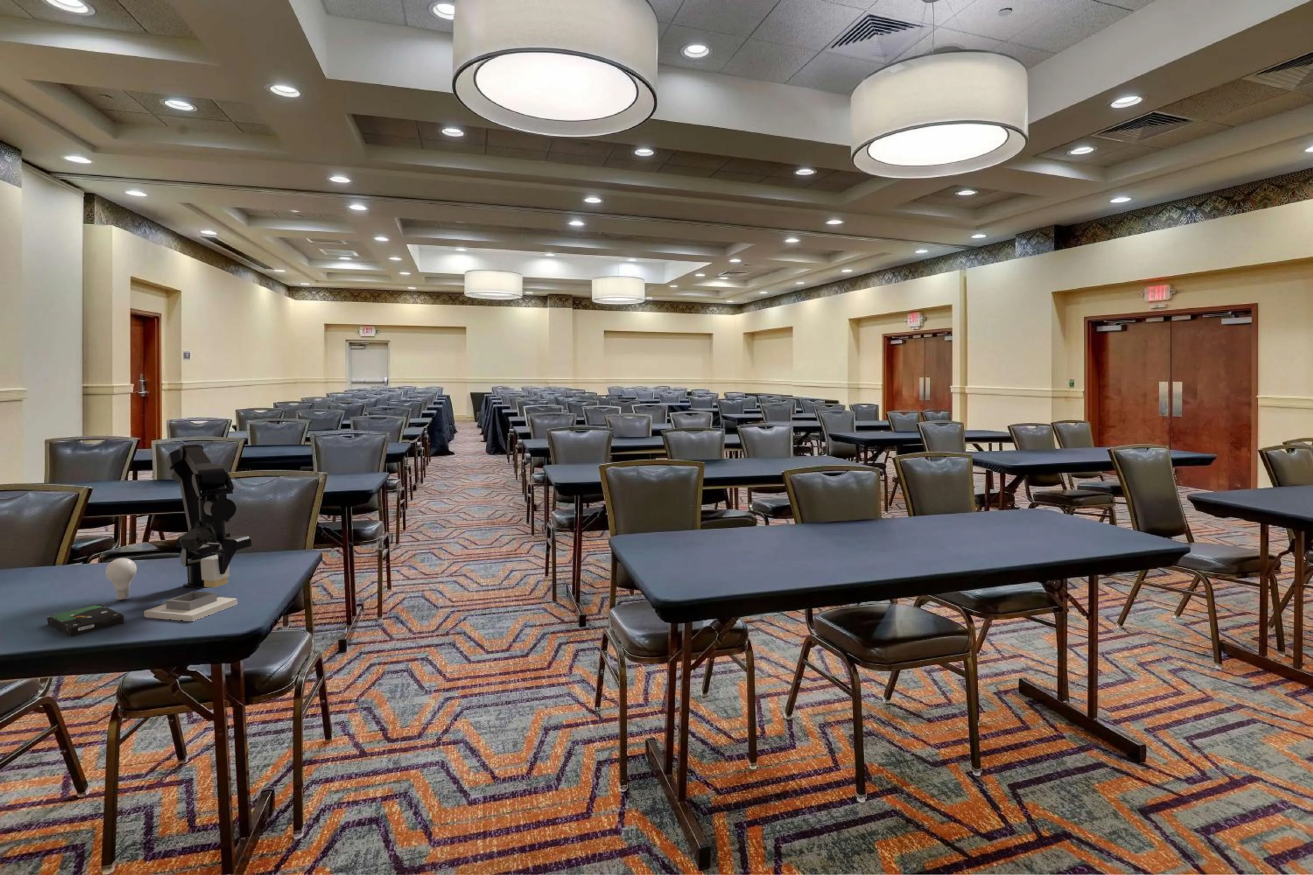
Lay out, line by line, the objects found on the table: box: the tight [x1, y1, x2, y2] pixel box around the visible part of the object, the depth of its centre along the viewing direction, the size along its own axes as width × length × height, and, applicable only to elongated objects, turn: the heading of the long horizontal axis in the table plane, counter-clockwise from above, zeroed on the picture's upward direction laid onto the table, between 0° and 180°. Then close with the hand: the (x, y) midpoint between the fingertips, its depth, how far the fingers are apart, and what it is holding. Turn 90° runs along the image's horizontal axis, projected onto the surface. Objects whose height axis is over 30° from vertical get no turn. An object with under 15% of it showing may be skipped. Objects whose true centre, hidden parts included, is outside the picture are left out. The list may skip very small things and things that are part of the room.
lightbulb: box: [105, 557, 138, 601], centre depth 177 cm, size 6×6×11 cm
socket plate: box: [143, 590, 238, 622], centre depth 169 cm, size 14×13×4 cm
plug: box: [201, 555, 230, 589], centre depth 182 cm, size 4×5×8 cm
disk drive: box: [46, 603, 125, 638], centre depth 160 cm, size 10×3×15 cm
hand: (215, 573), depth 182 cm, fingers closed on plug, 4 cm apart
